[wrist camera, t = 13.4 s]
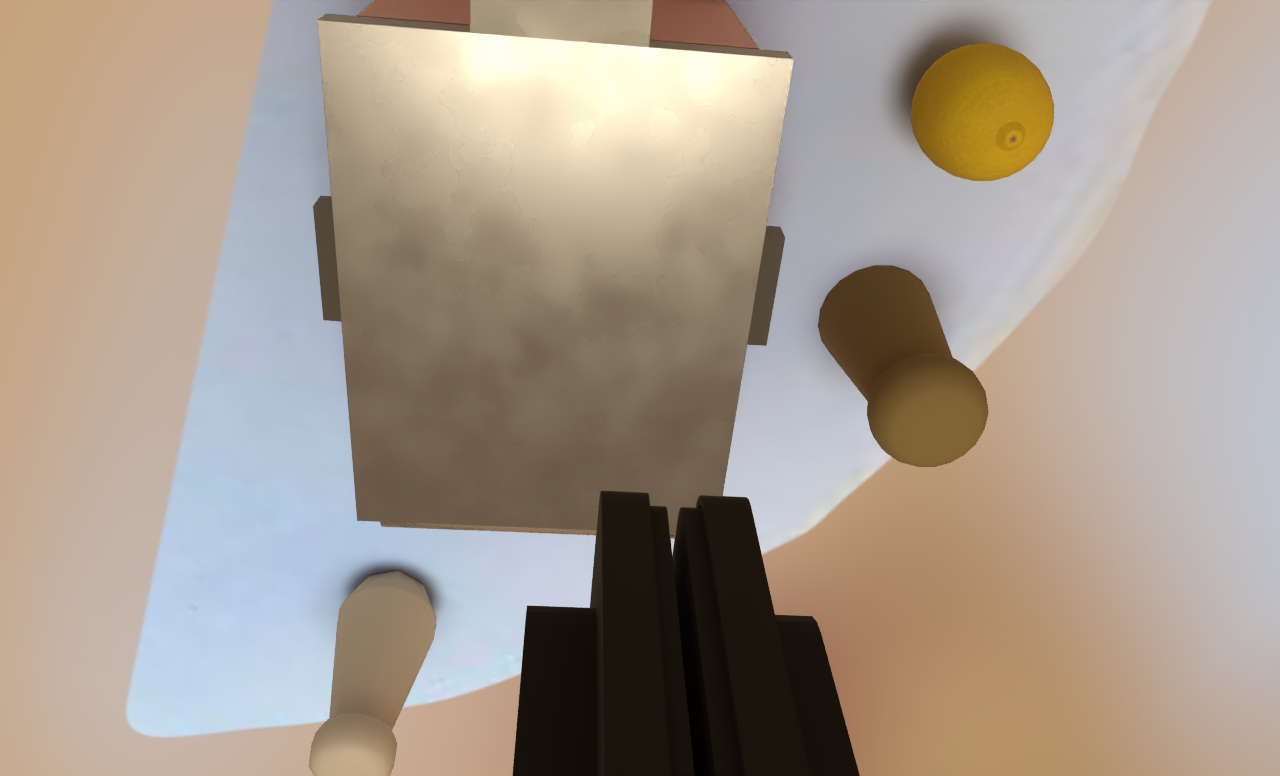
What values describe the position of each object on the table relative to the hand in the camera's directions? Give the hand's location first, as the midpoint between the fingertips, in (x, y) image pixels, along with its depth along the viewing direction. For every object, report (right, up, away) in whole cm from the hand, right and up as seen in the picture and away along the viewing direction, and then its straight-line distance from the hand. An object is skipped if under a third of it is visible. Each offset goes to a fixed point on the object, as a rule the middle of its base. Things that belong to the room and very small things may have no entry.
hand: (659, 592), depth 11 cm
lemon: (+14, +16, +34) cm, 40 cm away
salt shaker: (-15, -10, +49) cm, 52 cm away
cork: (+12, +6, +40) cm, 42 cm away
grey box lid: (-4, +6, +27) cm, 28 cm away
